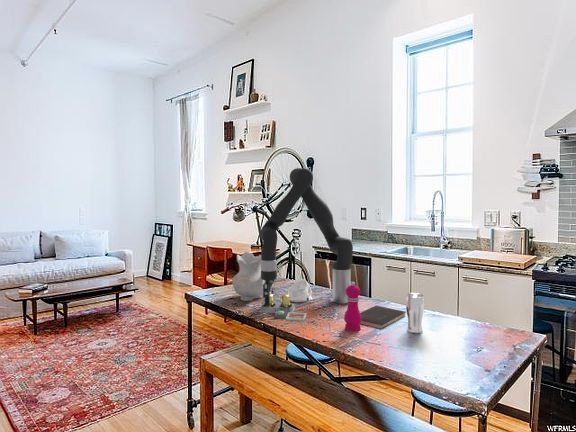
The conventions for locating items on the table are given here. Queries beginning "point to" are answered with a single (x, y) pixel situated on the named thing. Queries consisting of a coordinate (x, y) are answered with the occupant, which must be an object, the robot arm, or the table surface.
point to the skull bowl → (300, 291)
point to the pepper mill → (352, 308)
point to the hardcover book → (380, 316)
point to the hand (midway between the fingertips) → (269, 302)
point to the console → (280, 315)
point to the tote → (296, 318)
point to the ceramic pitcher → (248, 277)
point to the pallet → (276, 308)
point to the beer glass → (415, 312)
